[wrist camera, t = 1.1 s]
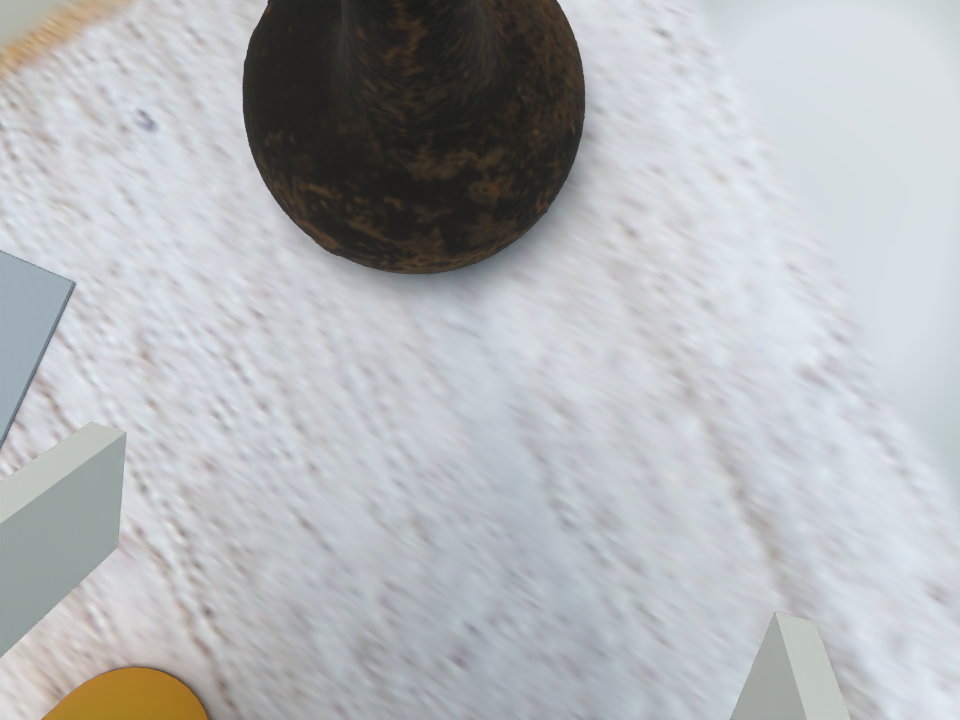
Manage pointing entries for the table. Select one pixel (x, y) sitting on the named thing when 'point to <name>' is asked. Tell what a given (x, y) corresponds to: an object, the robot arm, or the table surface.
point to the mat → (25, 327)
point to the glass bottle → (414, 123)
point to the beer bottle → (130, 698)
